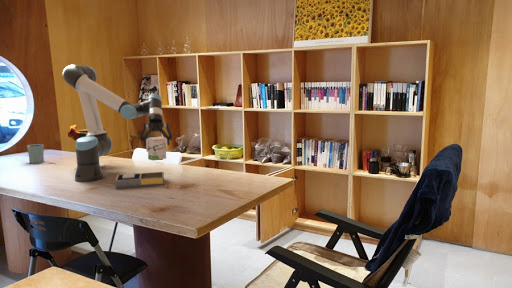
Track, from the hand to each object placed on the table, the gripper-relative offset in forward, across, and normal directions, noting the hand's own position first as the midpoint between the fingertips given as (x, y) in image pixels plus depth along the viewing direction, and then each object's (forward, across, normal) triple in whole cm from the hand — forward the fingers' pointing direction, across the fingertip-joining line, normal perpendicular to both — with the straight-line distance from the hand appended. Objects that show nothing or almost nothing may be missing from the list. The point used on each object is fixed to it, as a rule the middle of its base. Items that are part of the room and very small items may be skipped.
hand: (157, 149), depth 210 cm
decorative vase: (-26, +42, -54) cm, 73 cm away
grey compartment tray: (+12, +9, -14) cm, 21 cm away
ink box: (+2, 0, -6) cm, 6 cm away
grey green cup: (-44, +79, -74) cm, 117 cm away
